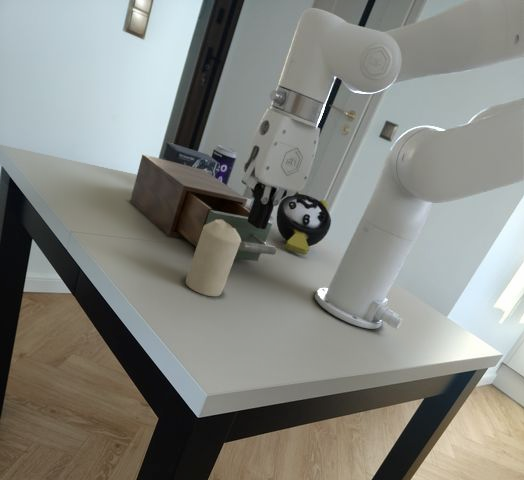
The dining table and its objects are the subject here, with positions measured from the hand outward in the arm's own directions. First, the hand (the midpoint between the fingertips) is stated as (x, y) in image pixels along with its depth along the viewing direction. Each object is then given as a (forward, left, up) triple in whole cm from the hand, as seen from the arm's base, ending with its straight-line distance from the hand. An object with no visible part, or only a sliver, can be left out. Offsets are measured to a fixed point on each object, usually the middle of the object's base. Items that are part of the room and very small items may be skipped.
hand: (256, 225), depth 83 cm
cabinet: (+18, -6, -8) cm, 21 cm away
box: (+30, -20, -8) cm, 37 cm away
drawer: (+7, -2, -7) cm, 10 cm away
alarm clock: (+6, -33, -8) cm, 34 cm away
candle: (-3, +14, -8) cm, 16 cm away
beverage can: (+32, -35, -8) cm, 49 cm away
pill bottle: (+23, -44, -8) cm, 51 cm away
